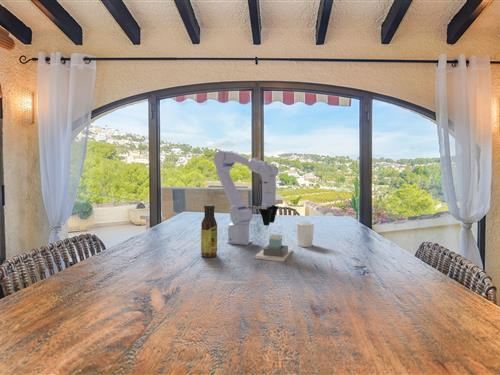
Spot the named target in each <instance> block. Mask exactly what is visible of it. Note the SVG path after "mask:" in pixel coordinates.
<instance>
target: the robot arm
mask: <svg viewBox="0 0 500 375" xmlns="http://www.w3.org/2000/svg"><path fill="white" fill-rule="evenodd" d="M212 161H213V163H214V164H215V170H216V175H217V178H218V179H219V181H220V183H221V186H222V188H223V190H224V193H225V195H226V197H227V199H228V202H229V204H230V207H229V210H228V211H229V212H228V213H229V215H230V216H229V217H230V221H231V223H229V224H228V228H227V244H231V245H233V244H234V245H243V246H248V245H249V244H251V242H253V240H252V239H250V223H251V220H253V216H254V215H253V211H252V209H250V208H249V206H248V205H247V203H246V202H244V201H243V200H242V198H241V196H240V194H239V192H238V189H237V188H236V184H235V183H234V181H233V179H232V176H231V174H230V170H232V168H233V166H234V165H235V164H236V163H239V164H241V165H244V166H247V169H248V170H249V171H251V172H254V173H256V174H258V175H260V177H261V181H262V182H261V183H262V184H261V186H262V187H261V189H262V190H261V192H262V195H261V198H262V201H261V207H260V208H258V212H259V213H260V216H261V219H262V223H263V226H265V227H266V226H267V227H268V226H270V223H271V224H272V223H273V224H274V223H275V220H276V216H277V212H278V210H279V208H280V207H279V202H277V201H276V200H277V199H276V198H277V197H276V196H277V195H276V194H277V193H276V191H277V190H276V189H277V188H276V186H277V185H276V183H277V182H276V180H277V176H278V175H279V169H278V167H277V165H276V164H274V163H270V164H269V163H268V161H263V160H261V159H260V157H257V156H256V157H252V158H249V157H247V156H246V155H245V156H244V155H243V154H240V153H238V152H236V151H229V150H228V151H227V150H220V149H218V150H216V151H215V153H214V155H213V158H212Z"/></svg>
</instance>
